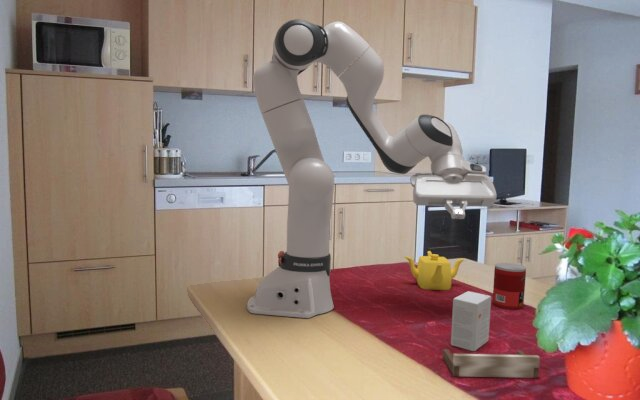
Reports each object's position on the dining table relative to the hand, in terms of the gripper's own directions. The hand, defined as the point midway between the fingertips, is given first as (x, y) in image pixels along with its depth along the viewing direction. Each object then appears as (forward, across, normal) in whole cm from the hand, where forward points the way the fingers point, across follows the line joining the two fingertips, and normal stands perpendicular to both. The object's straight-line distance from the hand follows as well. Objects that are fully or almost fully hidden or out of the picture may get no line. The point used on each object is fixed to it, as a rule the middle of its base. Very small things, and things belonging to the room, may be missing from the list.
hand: (458, 217), depth 125 cm
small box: (+28, 0, +8) cm, 30 cm away
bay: (+37, 0, -1) cm, 37 cm away
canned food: (+9, +19, +28) cm, 35 cm away
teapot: (-5, +3, +42) cm, 42 cm away
